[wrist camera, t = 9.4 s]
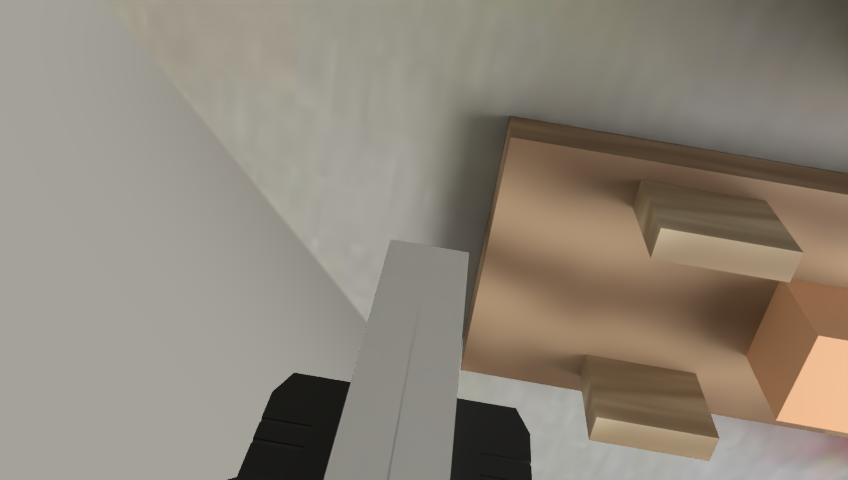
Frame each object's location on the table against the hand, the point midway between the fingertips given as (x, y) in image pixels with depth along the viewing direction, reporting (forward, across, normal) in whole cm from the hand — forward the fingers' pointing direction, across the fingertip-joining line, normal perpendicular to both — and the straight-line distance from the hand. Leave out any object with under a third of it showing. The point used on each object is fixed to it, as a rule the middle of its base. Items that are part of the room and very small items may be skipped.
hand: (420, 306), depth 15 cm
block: (+21, +20, -12) cm, 31 cm away
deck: (+24, +17, -11) cm, 32 cm away
